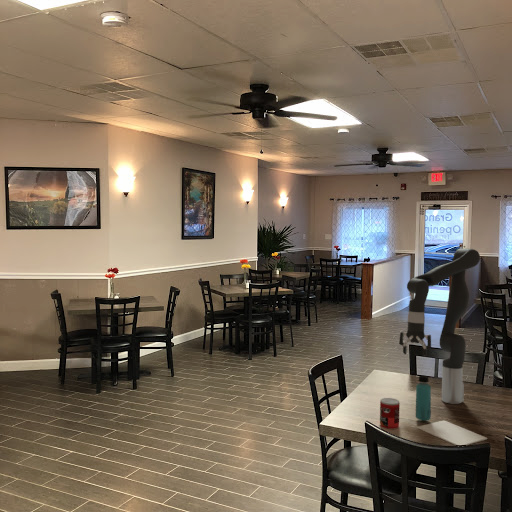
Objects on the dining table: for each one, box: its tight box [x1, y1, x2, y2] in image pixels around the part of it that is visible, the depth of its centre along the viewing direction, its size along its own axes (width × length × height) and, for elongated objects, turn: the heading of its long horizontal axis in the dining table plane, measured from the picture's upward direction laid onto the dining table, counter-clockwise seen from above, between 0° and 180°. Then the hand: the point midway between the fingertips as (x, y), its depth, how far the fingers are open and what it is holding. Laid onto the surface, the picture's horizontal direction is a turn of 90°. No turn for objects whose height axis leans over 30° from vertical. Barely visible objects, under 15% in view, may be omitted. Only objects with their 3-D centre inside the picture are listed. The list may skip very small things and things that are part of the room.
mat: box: [416, 420, 488, 446], centre depth 219 cm, size 22×16×1 cm
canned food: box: [379, 397, 401, 430], centre depth 227 cm, size 8×8×11 cm
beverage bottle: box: [414, 375, 432, 421], centre depth 232 cm, size 6×7×20 cm
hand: (414, 355), depth 250 cm, fingers open, 8 cm apart
